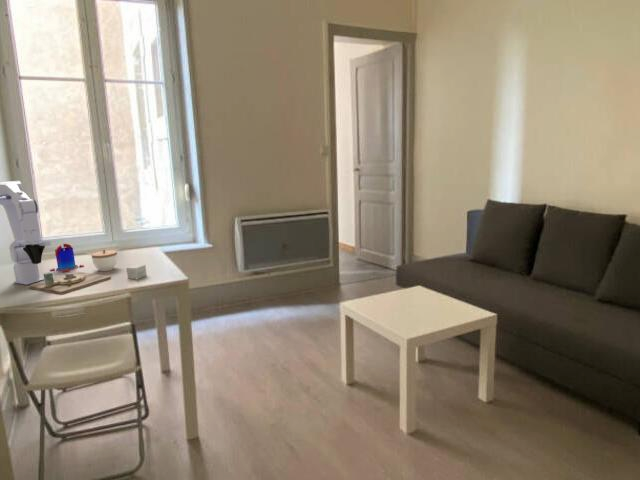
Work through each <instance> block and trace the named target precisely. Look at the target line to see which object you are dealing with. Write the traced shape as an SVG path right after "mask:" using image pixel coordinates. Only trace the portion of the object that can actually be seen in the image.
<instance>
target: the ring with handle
mask: <svg viewBox="0 0 640 480" xmlns="http://www.w3.org/2000/svg"><path fill="white" fill-rule="evenodd" d="M53 274H54V273H53V272H52V271H51V272H50V271H49V272H44V273H43V278H44V280H43V281H45V283H44V285H45V286H47V287H48V286H52V285H56V284H68V280H66V276H64V275H61V276H62V277H60V276H59V277H60V278H57V277H56V278H57V279H55V280H53V278H54V276H53ZM85 278H86V277H85V275H83V274H80V275H79V274H74V279H71V283H75V282H79V281H81V280H84V279H85ZM69 280H70V279H69Z"/></svg>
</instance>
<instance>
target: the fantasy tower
mask: <svg viewBox="0 0 640 480" xmlns="http://www.w3.org/2000/svg"><path fill="white" fill-rule="evenodd" d="M54 251H55V252H54V255H55V258H56V259H55V260H56V264H57V267H56V269H55V268H51V269H50V270H49V272H51V273H52V272H62V273H64V274H65V273H70V272H71V271H73V270H77V269H79V268H80V269H81V268H85V265H84V264H79V265H76V260H75V253H74V248H73V247H72V246H71V244H69V243H63V246H61V245H59V246H57V248H56V249H55V250H54Z"/></svg>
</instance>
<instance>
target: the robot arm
mask: <svg viewBox="0 0 640 480" xmlns="http://www.w3.org/2000/svg"><path fill="white" fill-rule="evenodd" d="M0 205H1V206H2V207H3V209H4V211H5V213H6V216H7V220H8V222H9V226H10V229H11V232H12V235H13V238H14V241H12V242H11V243H10V244H9V253H10V254H9V255H10V258H11V261H12V262H13V263H14V264H13V273H14V277H15V280H14V281H13V283H15V284H19V285H20V284H21V285H25V286H26V285H27V286H28V285H32V284H35V283H39V282H43V281H45V280H44V277H41V276H40V271H39V266H38V264H39V265H40V264H41V263H42V256H43V253H44V250H45V247H50V246H51V243H52V242H51V240H50V239H49V240H48V239H42V236H41V231H40V226H39V220H38V219H39V218H38V212H39V208H38V207H39V206H38V203H37V200H36V199H35V198H30V197H29V195H28V194H26V193H25V192H24V187H23V183H22V182H21V181H20V180H12V181H11V180H10V181H2V182H0Z"/></svg>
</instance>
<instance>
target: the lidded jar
mask: <svg viewBox="0 0 640 480" xmlns="http://www.w3.org/2000/svg"><path fill="white" fill-rule="evenodd" d="M90 256H91V259H92V264H93V265H94V267H95V268H96V269H97V270H99V271H100V272H107V271H112V270H113V269H114V268H115V267H116V266H117V264H118V263H117V262H118V251H117V250H113V249H112V250H106V249H102V250H101V251H96V252H94V253H92V254H91V255H90Z"/></svg>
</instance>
